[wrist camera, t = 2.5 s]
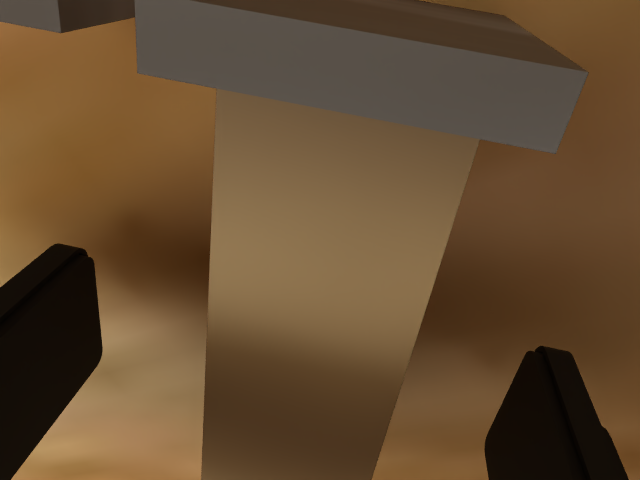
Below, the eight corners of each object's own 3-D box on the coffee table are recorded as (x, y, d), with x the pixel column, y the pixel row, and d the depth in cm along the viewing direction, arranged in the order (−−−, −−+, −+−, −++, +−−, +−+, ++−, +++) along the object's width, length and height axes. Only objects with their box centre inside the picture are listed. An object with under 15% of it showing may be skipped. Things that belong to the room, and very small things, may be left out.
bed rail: (368, 461, 16) (349, 664, 11) (231, 428, 16) (158, 611, 11) (504, 15, 9) (588, 72, 5) (268, -26, 9) (134, -10, 5)
